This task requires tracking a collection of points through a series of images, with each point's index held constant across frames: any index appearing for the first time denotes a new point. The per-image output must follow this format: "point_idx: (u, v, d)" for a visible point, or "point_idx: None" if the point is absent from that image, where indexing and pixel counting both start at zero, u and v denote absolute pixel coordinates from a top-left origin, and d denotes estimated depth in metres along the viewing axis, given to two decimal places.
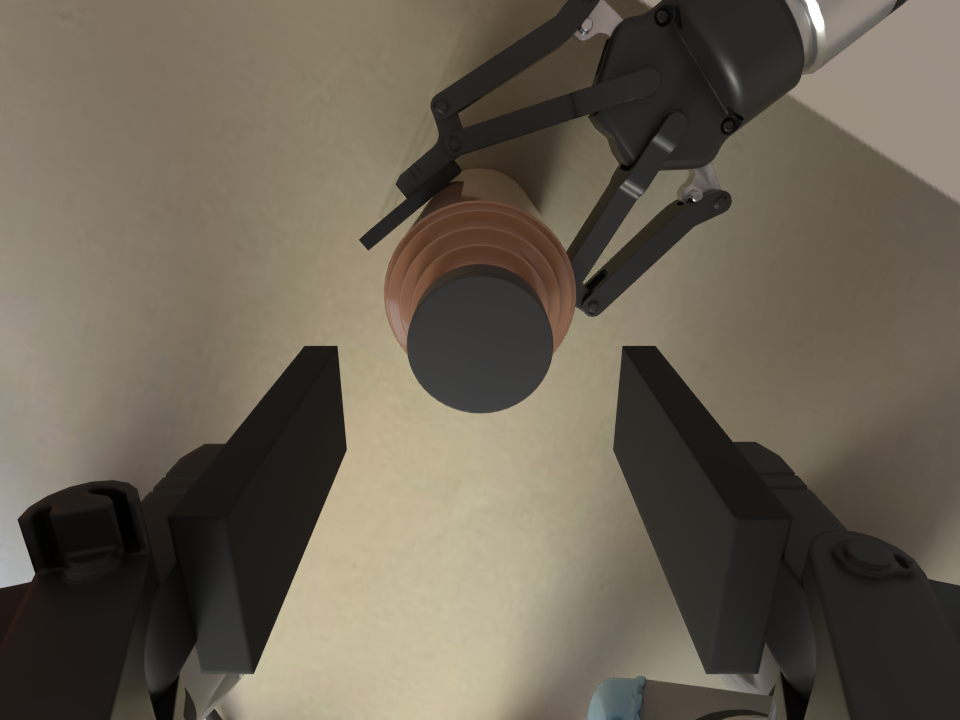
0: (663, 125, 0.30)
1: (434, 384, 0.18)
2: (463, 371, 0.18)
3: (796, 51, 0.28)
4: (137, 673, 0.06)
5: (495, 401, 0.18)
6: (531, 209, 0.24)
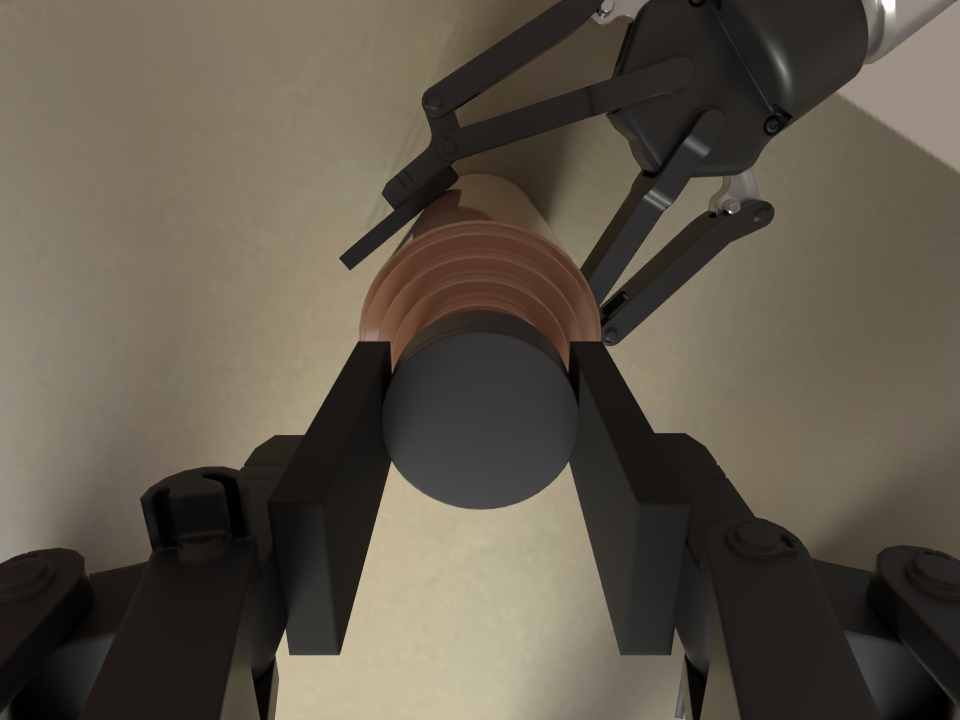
0: (697, 124, 0.25)
1: (418, 473, 0.13)
2: (457, 456, 0.13)
3: (860, 36, 0.23)
4: (244, 656, 0.06)
5: (501, 494, 0.14)
6: (543, 228, 0.20)
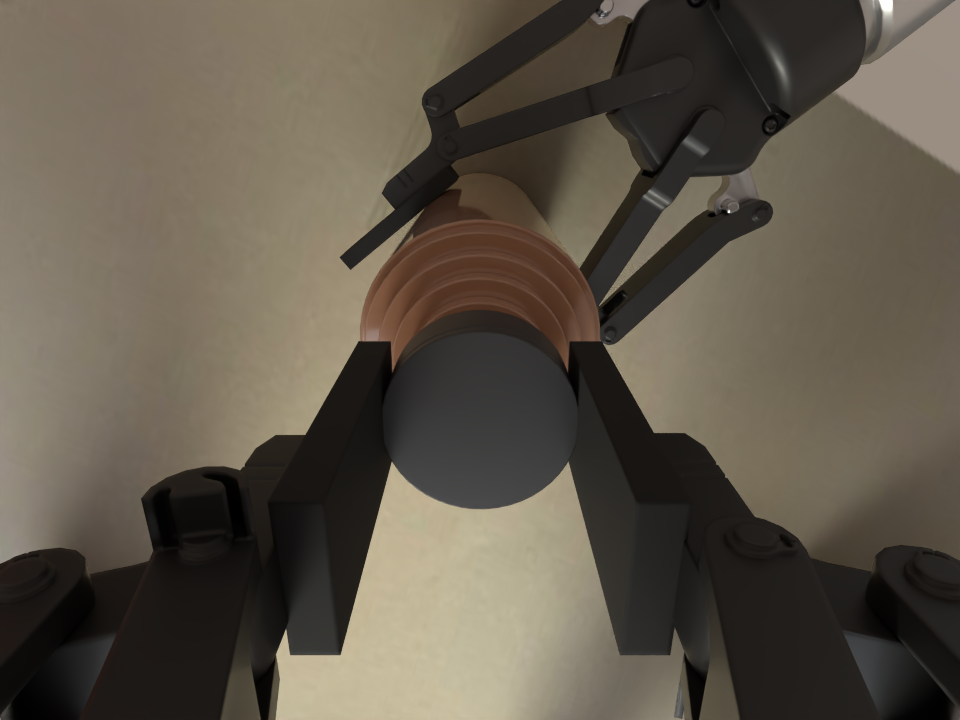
0: (695, 124, 0.26)
1: (559, 446, 0.13)
2: (521, 426, 0.13)
3: (858, 36, 0.23)
4: (244, 656, 0.06)
5: (538, 367, 0.12)
6: (543, 227, 0.20)
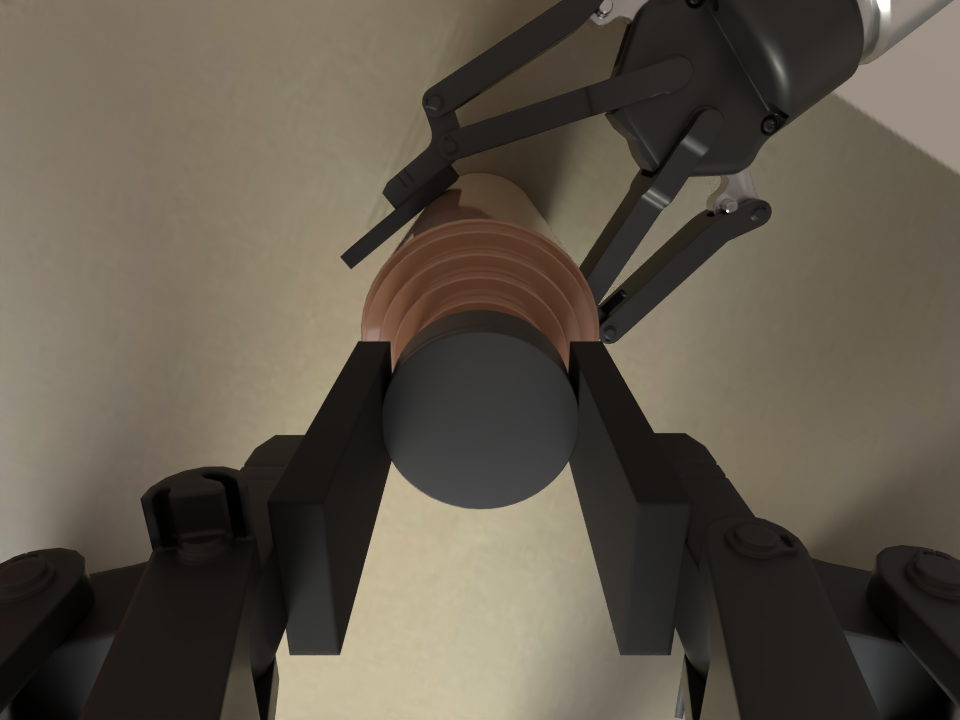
0: (694, 124, 0.26)
1: (455, 350, 0.12)
2: (457, 393, 0.13)
3: (856, 36, 0.23)
4: (244, 656, 0.06)
5: (396, 414, 0.13)
6: (542, 227, 0.20)
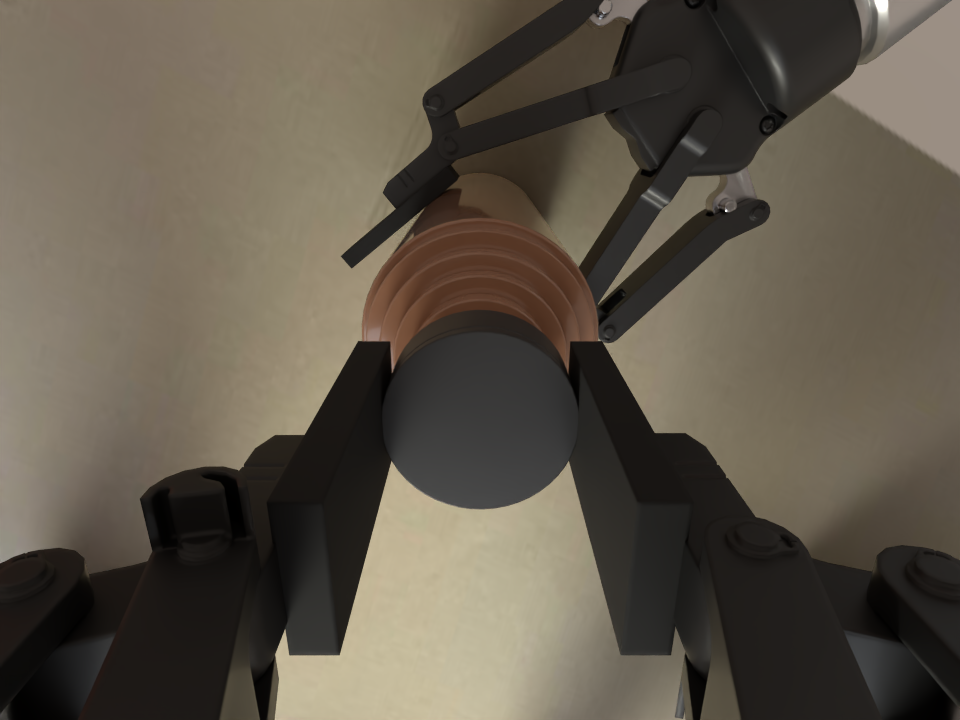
0: (693, 124, 0.26)
1: (427, 480, 0.13)
2: (463, 459, 0.13)
3: (854, 37, 0.23)
4: (243, 656, 0.06)
5: (512, 491, 0.14)
6: (542, 226, 0.20)
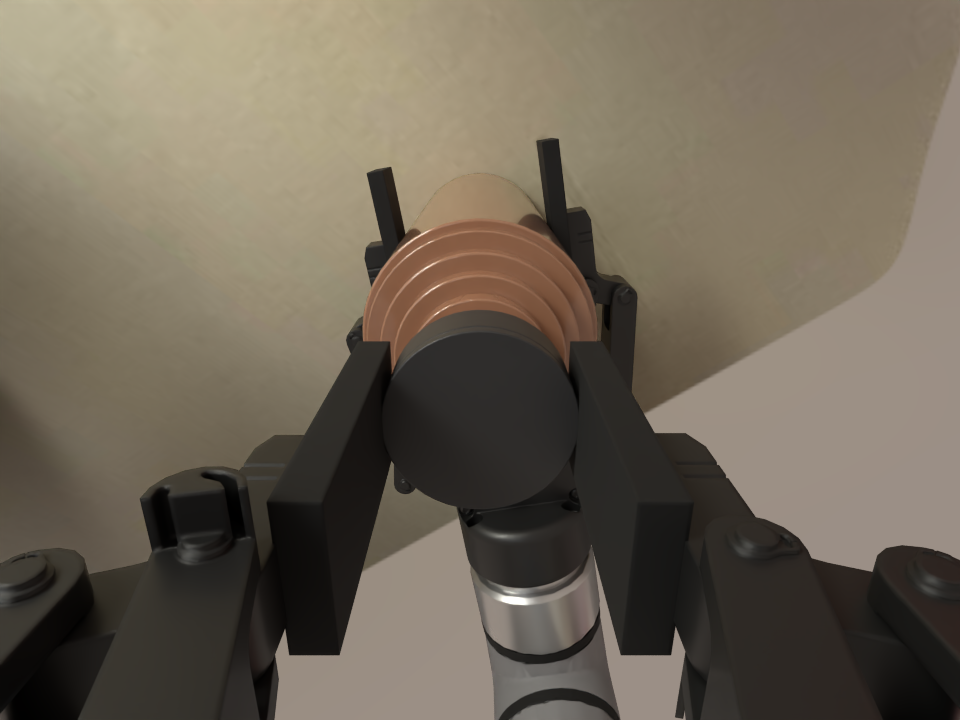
0: None
1: (427, 480, 0.13)
2: (463, 458, 0.13)
3: (500, 582, 0.33)
4: (243, 656, 0.06)
5: (512, 491, 0.14)
6: None
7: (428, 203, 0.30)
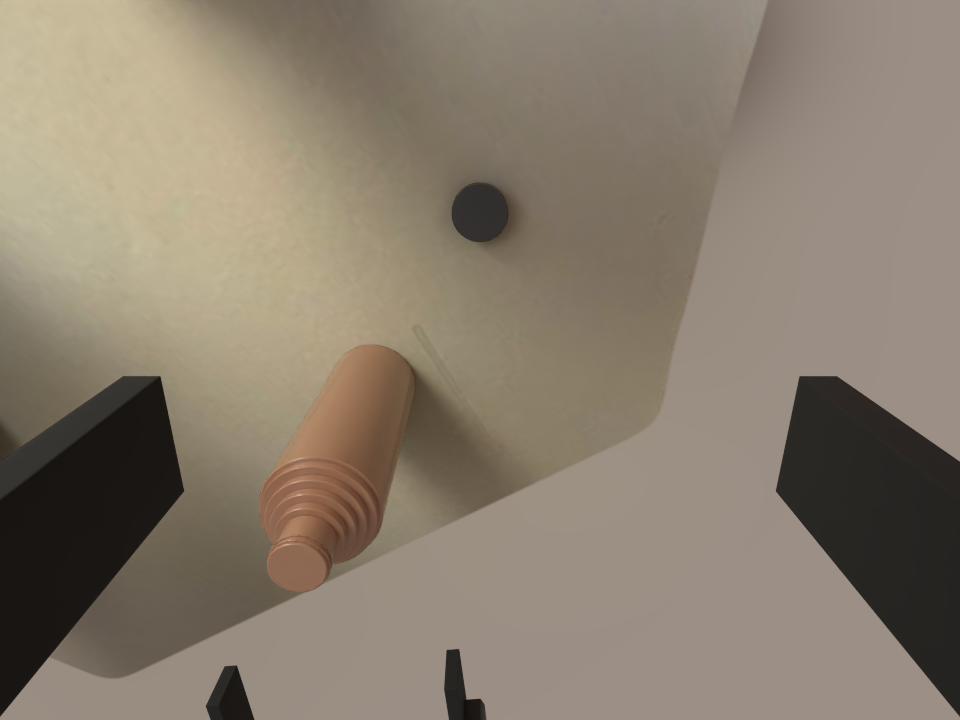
0: None
1: (464, 231, 0.46)
2: (475, 224, 0.46)
3: None
4: None
5: (489, 235, 0.47)
6: None
7: (329, 379, 0.46)
